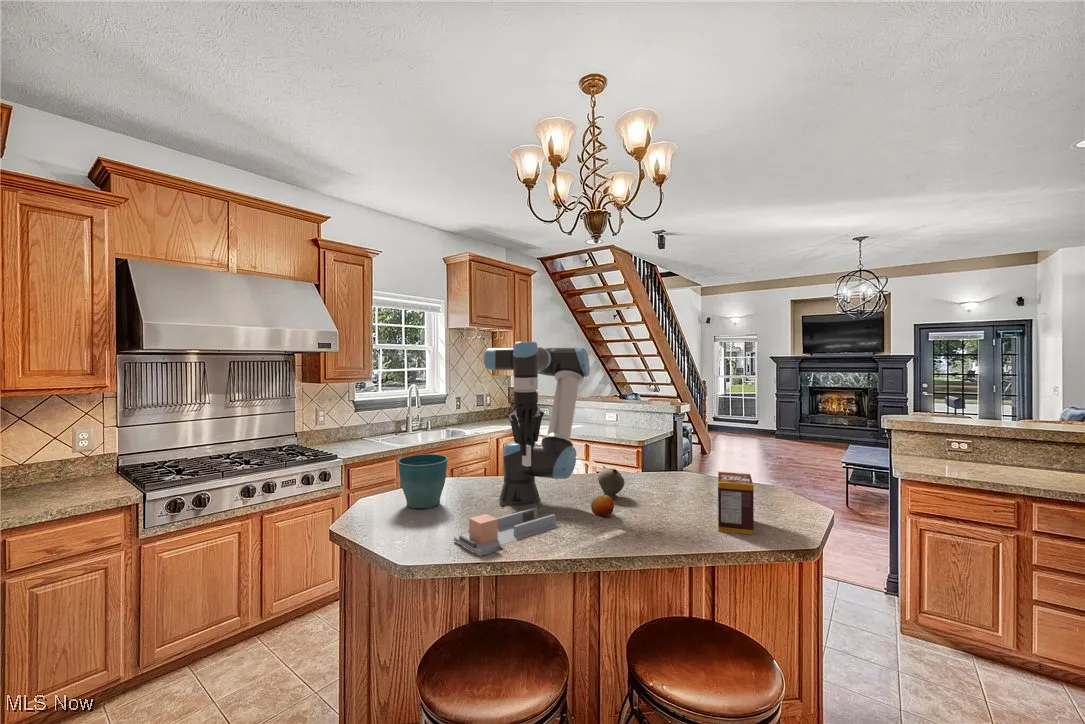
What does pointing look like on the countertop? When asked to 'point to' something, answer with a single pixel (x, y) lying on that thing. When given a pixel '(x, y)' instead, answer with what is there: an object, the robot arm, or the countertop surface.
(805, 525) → the countertop surface
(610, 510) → the fruit
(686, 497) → the countertop surface
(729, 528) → the supplement box
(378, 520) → the countertop surface
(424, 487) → the flower pot
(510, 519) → the chute
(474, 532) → the block
